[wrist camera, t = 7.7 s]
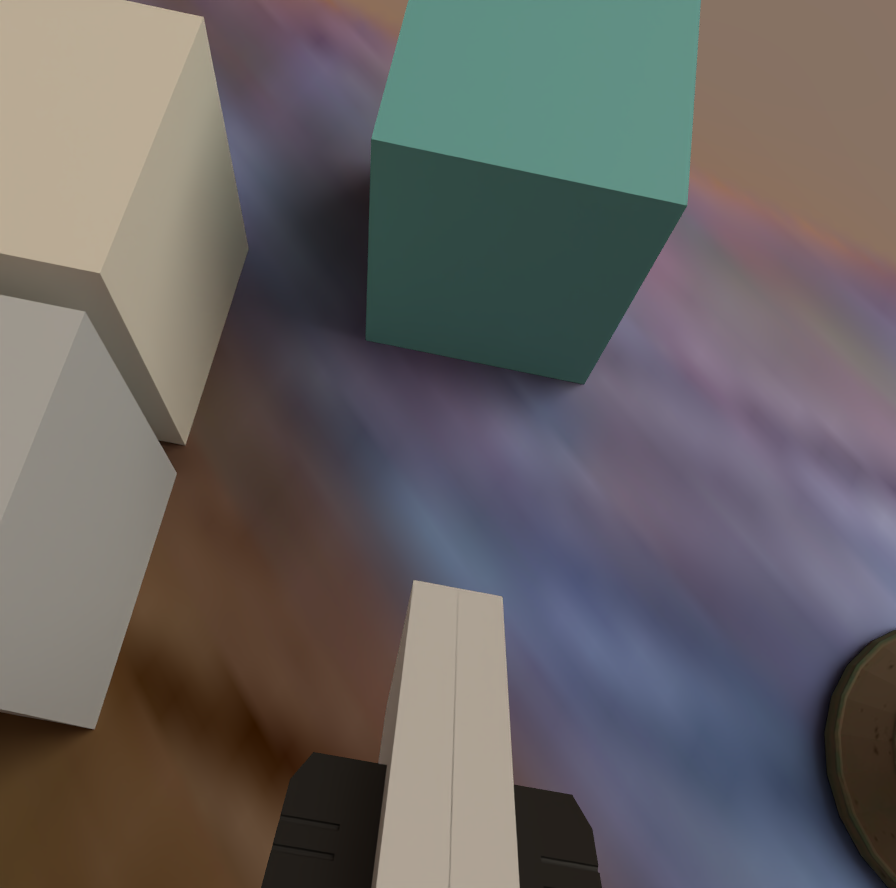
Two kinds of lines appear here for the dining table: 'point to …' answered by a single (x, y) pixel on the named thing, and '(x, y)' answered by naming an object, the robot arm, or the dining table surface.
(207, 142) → the cream block
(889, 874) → the candlestick holder
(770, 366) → the dining table surface
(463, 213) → the teal block
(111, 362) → the grey block
